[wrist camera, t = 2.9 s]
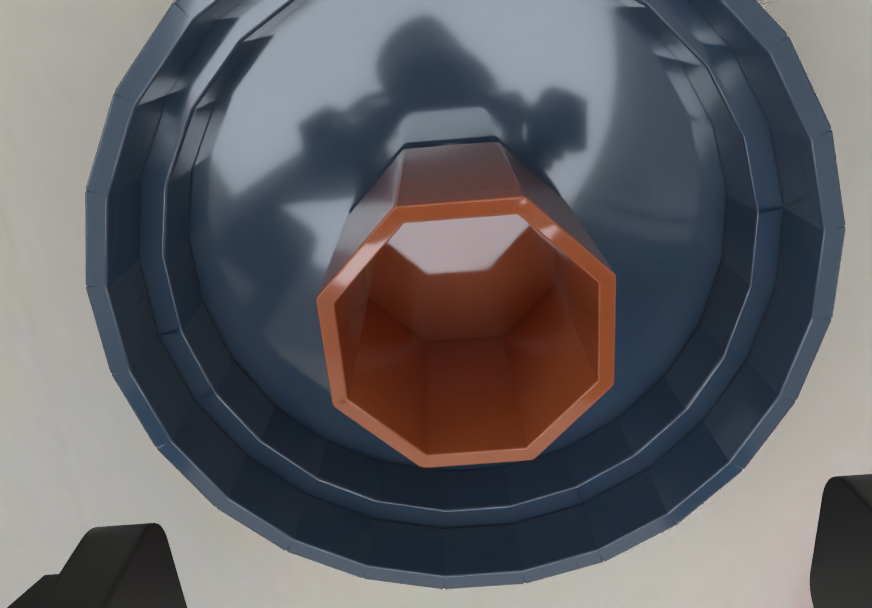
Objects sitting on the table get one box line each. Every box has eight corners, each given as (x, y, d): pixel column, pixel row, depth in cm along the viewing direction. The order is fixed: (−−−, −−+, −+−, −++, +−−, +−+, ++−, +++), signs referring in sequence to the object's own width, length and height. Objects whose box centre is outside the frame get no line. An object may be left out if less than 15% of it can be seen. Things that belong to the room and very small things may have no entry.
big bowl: (220, 503, 24) (177, 608, 20) (84, -64, 18) (-23, -83, 13) (732, 467, 24) (796, 565, 20) (789, -127, 17) (904, -167, 13)
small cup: (365, 351, 21) (343, 474, 16) (338, 151, 19) (301, 214, 14) (565, 336, 21) (613, 455, 16) (562, 132, 19) (618, 188, 13)
